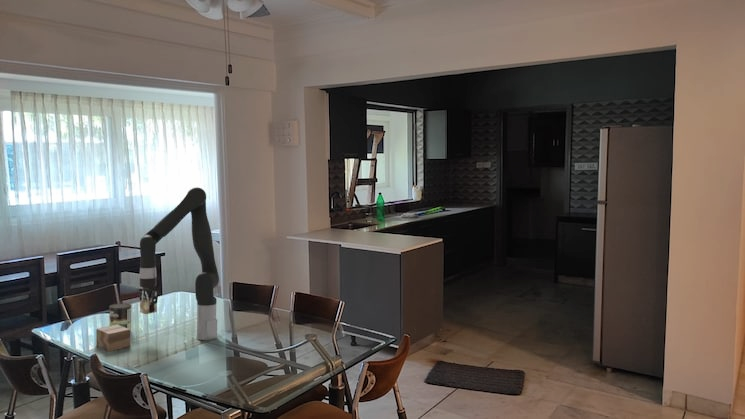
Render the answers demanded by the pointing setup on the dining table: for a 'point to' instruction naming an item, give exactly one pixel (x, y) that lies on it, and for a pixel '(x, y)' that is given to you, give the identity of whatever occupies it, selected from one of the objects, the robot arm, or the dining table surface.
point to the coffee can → (120, 315)
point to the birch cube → (146, 307)
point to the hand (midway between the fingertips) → (148, 310)
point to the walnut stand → (113, 337)
